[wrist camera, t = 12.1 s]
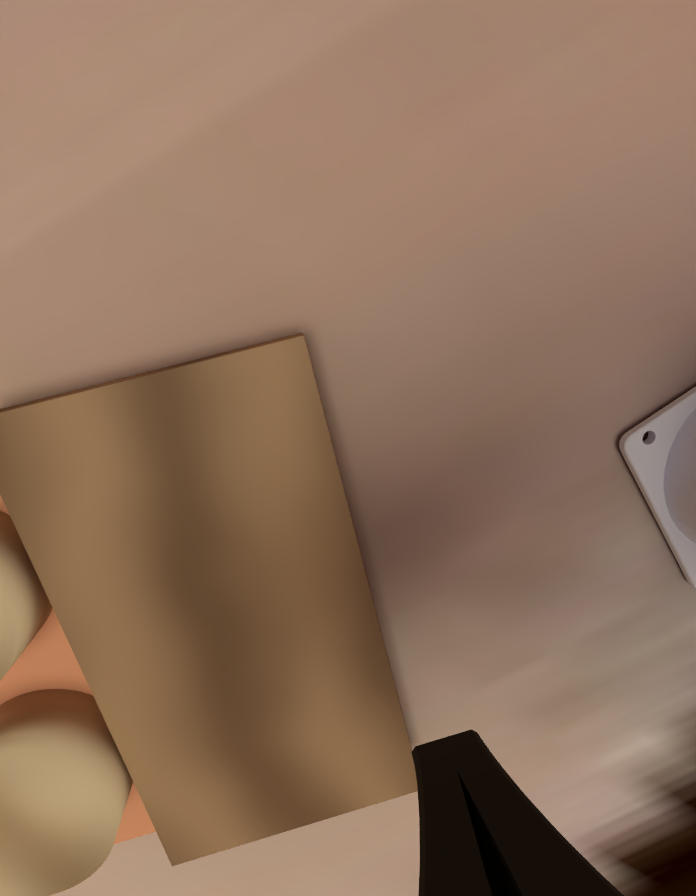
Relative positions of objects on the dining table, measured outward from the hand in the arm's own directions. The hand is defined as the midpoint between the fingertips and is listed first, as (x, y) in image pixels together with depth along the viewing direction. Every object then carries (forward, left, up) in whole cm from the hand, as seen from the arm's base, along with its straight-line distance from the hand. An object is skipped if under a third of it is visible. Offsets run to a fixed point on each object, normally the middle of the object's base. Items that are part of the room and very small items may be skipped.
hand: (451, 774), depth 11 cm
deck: (+5, -2, -9) cm, 11 cm away
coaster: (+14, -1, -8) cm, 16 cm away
